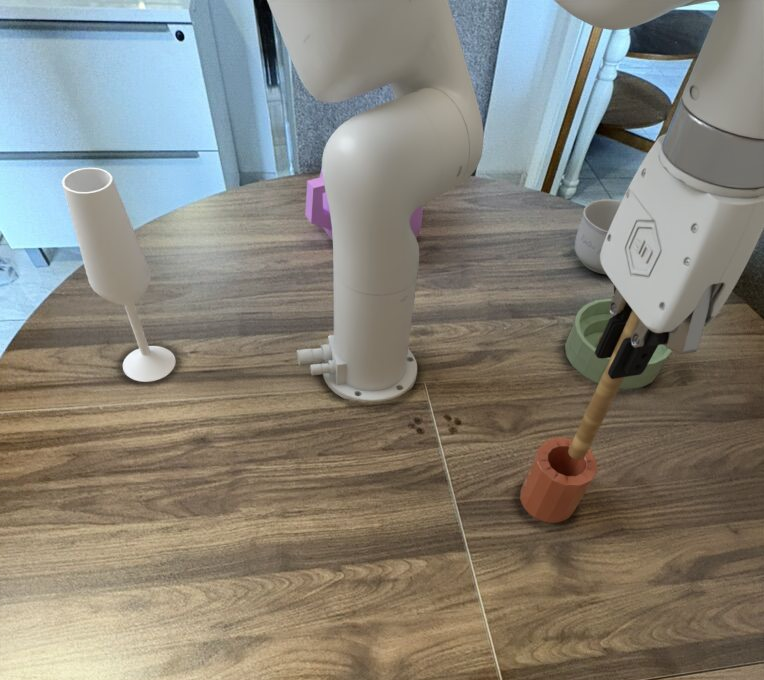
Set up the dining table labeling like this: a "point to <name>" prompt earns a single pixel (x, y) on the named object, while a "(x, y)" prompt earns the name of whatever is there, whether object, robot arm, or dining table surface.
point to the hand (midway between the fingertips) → (618, 363)
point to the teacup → (595, 232)
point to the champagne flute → (114, 260)
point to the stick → (600, 400)
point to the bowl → (586, 340)
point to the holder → (556, 481)
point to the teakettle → (321, 215)
